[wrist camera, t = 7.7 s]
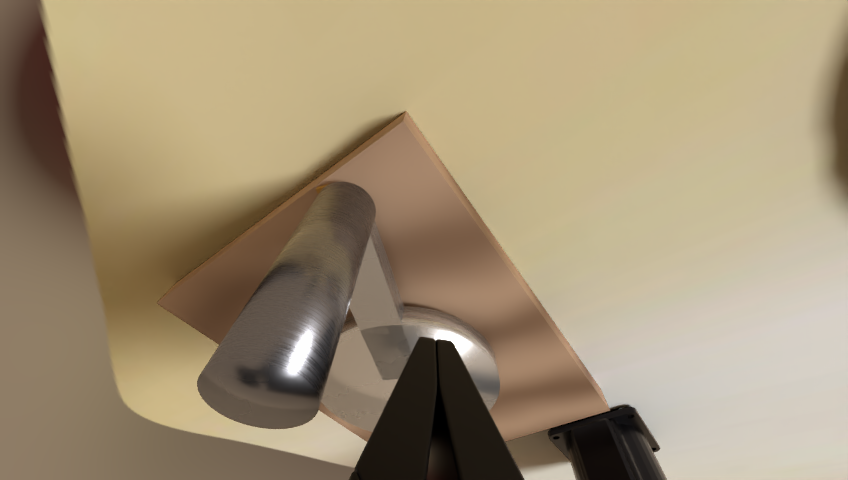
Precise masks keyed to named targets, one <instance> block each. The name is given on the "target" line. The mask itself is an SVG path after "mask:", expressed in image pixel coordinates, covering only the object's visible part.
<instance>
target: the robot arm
mask: <svg viewBox="0 0 848 480" xmlns="http://www.w3.org/2000/svg"><path fill="white" fill-rule="evenodd" d="M548 435H549V439H550V440H551V441H552V442H553V443H554V444H555V445H556V446H557V447H558V448H559V450H560V451H561V452H562V453H563V454H564V455H565V456H566V457H567V458H568V459H569V460H570V461H571V465H572V468H573V471H574V474H575V478H576V480H667V479H666V477H665V475H664V473H663V471H662V469H661V467H660V465H659V463H658V461H657V459H656V457H655V455H654V453H653V452H656V451H658V450H659V449H660V447H659V445H658V443H657V442H656V440H655V438H654V437H653V435H652V434H651V432H650V431H649V429H648V428H647V426H646V424H645V423H644V421H643V420H642V418H641V417H640V415H639V414H638V412H637V410H636V409H635V408H633V407H626V408H623V409H619V410H616V411H613V412H609V413H606V414H603V415H599V416H596V417H592V418H589V419H586V420H582V421H579V422H576V423H572V424H569V425H565V426H562V427H559V428H555V429H552V430H550V431H549V432H548ZM349 480H524V478H523V476H522V474H521V472H520V470H519V468H518V466H517V464H516V462H515V460H514V459H513V457H512V455H511V453H510V451H509V449H508V447H507V445H506V443H505V441H504V439H503V437H502V435H501V433H500V431H499V430H498V428H497V426H496V424H495V422H494V420H493V418H492V416H491V414H490V412H489V410H488V408H487V406H486V404H485V402H484V400H483V399H482V397H481V395H480V393H479V391H478V389H477V387H476V385H475V383H474V381H473V379H472V377H471V375H470V373H469V371H468V370H467V368H466V366H465V364H464V362H463V360H462V358H461V356H460V354H459V352H458V350H457V348H456V346H455V344H454V343H453V342H452V341H450V340H444V339H437V340H436V341H435V339H434V338H429V337H419V338H418V340H417V342H416V344H415V346H414V348H413V350H412V352H411V354H410V356H409V358H408V360H407V362H406V365H405V367H404V369H403V371H402V373H401V375H400V377H399V379H398V381H397V383H396V385H395V387H394V389H393V391H392V393H391V395H390V397H389V399H388V401H387V403H386V405H385V407H384V409H383V411H382V414H381V416H380V418H379V420H378V422H377V424H376V426H375V428H374V430H373V432H372V434H371V436H370V438H369V440H368V442H367V444H366V446H365V448H364V450H363V452H362V454H361V456H360V458H359V460H358V463H357V465H356V467H355V471H354V472H353V473H352V474H351V476H350V479H349Z"/></svg>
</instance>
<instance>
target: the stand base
mask: <svg viewBox="0 0 848 480" xmlns="http://www.w3.org/2000/svg"><path fill="white" fill-rule="evenodd" d="M334 182H349V183H353V184H356V185H358V186H360V187H361V188H363V189H364V190H365V191H366V192H367V193H368V194H369V195H370V196H371V197H372V199H373V201H374V204H375V207H376V217H375V222H376V225H377V228H378V231H379V234H380V237H381V240H382V243H383V246H384V249H385V252H386V255H387V258H388V260H389V263H390V266H391V269H392V272H393V275H394V278H395V281H396V284H397V287H398V290H399V293H400V296H401V299H402V302H403V305H404V306H411V307H421V308H427V309H432V310H437V311H440V312H443V313H446V314H449V315H452V316H454V317H456V318H459V319H461V320H462V321H464V322H466V323H468V324H469V325H471V326H472V327H474V328H475V329H476V330H478V331H479V332H480V333H481V334H482V335H483V336H484V337H485V338H486V340H487V341H488V342H489V344H490V345H491V347H492V349H493V351H494V354H495V358H496V362H497V367H498V373H499V379H500V391H499V395H498V398H497V400H496V402H495V404H494V405H493V407H492V408H491V409H490V410H489V412H490V414H491V416H492V418H493V420H494V422H495V424H496V426H497V428H498V430H499V431H500V433H501V435H502V437H503V439H504V441H505V442H506V441H509V440H512V439H516V438H519V437H523V436H526V435H529V434H533V433H536V432H539V431H543V430H546V429H549V428H553V427H556V426H560V425H563V424H566V423H570V422H573V421H576V420H580V419H583V418H586V417H590V416H593V415H596V414H600V413H603V412H607V411H610V409H609V407H608V404H607V402H606V400H605V398H604V395H603V393H602V391H601V389H600V387H599V386H598V384H597V383H596V382H595V380H594V379H593V377H592V376H591V374H590V373H589V372H588V370H587V369H586V367H585V366H584V364H583V363H582V362H581V360H580V359H579V357H578V356H577V354H576V353H575V352H574V350H573V349H572V347H571V346H570V344H569V343H568V342H567V340H566V339H565V337H564V336H563V334H562V333H561V332H560V330H559V329H558V327H557V326H556V324H555V323H554V322H553V320H552V319H551V317H550V316H549V314H548V313H547V312H546V310H545V309H544V307H543V306H542V304H541V303H540V302H539V300H538V299H537V297H536V296H535V294H534V293H533V292H532V290H531V289H530V287H529V286H528V284H527V283H526V282H525V280H524V279H523V277H522V276H521V274H520V273H519V272H518V270H517V269H516V267H515V266H514V264H513V263H512V262H511V260H510V259H509V257H508V256H507V254H506V253H505V252H504V250H503V249H502V247H501V246H500V244H499V243H498V242H497V240H496V239H495V237H494V236H493V234H492V233H491V232H490V230H489V229H488V227H487V226H486V224H485V223H484V222H483V220H482V219H481V217H480V216H479V214H478V213H477V212H476V210H475V209H474V207H473V206H472V204H471V203H470V202H469V200H468V199H467V197H466V196H465V194H464V193H463V192H462V190H461V189H460V187H459V186H458V184H457V183H456V182H455V180H454V179H453V177H452V176H451V174H450V173H449V172H448V170H447V169H446V167H445V166H444V164H443V163H442V162H441V160H440V159H439V157H438V156H437V154H436V153H435V152H434V150H433V149H432V147H431V146H430V144H429V143H428V142H427V140H426V139H425V137H424V136H423V134H422V133H421V132H420V130H419V129H418V127H417V126H416V124H415V123H414V121H413V120H412V119H411V117H410V116H409V114H408V113H407V111H406V112H405V113H403V114H402V115H401V116H399V117H398V118H397V119H395V120H394V121H393V122H391V123H390V124H389V125H387V126H386V127H384V128H383V129H382V130H380V131H379V132H378V133H376V134H375V135H374V136H372V137H371V138H370V139H368V140H367V141H366V142H364V143H363V144H362V145H360V146H359V147H358V148H356V149H355V150H354V151H352V152H351V153H350V154H348V155H347V156H346V157H344V158H343V159H342V160H340V161H339V162H338V163H336V164H335V165H334V166H332V167H331V168H330V169H328V170H327V171H326V172H324V173H323V174H322V175H320V176H319V177H318V178H316V179H315V180H314V181H312V182H311V183H310V184H308V185H307V186H306V187H304V188H303V189H301V190H300V191H299V192H297V193H296V194H295V195H293V196H292V197H291V198H289V199H288V200H287V201H285V202H284V203H283V204H281V205H280V206H279V207H277V208H276V209H275V210H273V211H272V212H271V213H269V214H268V215H267V216H265V217H264V218H263V219H261V220H260V221H259V222H257V223H256V224H255V225H253V226H252V227H251V228H249V229H248V230H247V231H245V232H244V233H243V234H241V235H240V236H239V237H237V238H236V239H235V240H233V241H232V242H231V243H229V244H228V245H227V246H225V247H224V248H223V249H221V250H220V251H218V252H217V253H216V254H214V255H213V256H212V257H210V258H209V259H208V260H206V261H205V262H204V263H202V264H201V265H200V266H198V267H197V268H196V269H194V270H193V271H192V272H190V273H189V274H188V275H186V276H185V277H184V278H182V279H181V280H180V281H178V282H177V283H176V284H174V286H173V287H172V288H171V289H170V290H169V291H168V292H167V293H166V294H165V295H164V296H163V297H162V298H161V299H160V300H159V301H158V302H157V304H158V305H160V306H161V307H163V308H164V309H166V310H167V311H169V312H171V313H172V314H174V315H175V316H177V317H178V318H180V319H181V320H183V321H184V322H186V323H187V324H189V325H190V326H192V327H193V328H195V329H196V330H198V331H199V332H201V333H202V334H204V335H205V336H207V337H209V338H210V339H212V340H213V341H215V342H216V343H218V344H219V345H220V344H221V342H222V340H223V339H224V337H225V336H226V334H227V333H228V331H229V330H230V328H231V327H232V325H233V324H234V322H235V321H236V319H237V318H238V316H239V315H240V313H241V311H242V310H243V308H244V307H245V305H246V304H247V302H248V301H249V299H250V298H251V296H252V295H253V293H254V292H255V290H256V289H257V287H258V285H259V284H260V282H261V281H262V279H263V278H264V276H265V275H266V273H267V272H268V270H269V269H270V267H271V266H272V264H273V263H274V261H275V260H276V258H277V256H278V255H279V253H280V252H281V250H282V249H283V247H284V246H285V244H286V243H287V241H288V240H289V238H290V237H291V235H292V234H293V232H294V231H295V229H296V227H297V226H298V224H299V223H300V221H301V220H302V218H303V217H304V215H305V214H306V212H307V211H308V209H309V208H310V206H311V205H312V203H313V201H314V200H315V198H316V197H317V195H318V194H319V192H320V191H321V190H322V189H323V188H324V187H325V186H327V185H329V184H331V183H334ZM352 316H353V314H352V312H351V310H350V308H348V312H347V315H346V318H345V320H346V319H347V318H349V317H352ZM319 410H320V411H321V412H323V413H324V414H326V415H327V416H329V417H330V418H332V419H333V420H335V421H336V422H338V423H339V424H341V425H342V426H344V427H345V428H347V429H348V430H350V431H351V432H353V433H354V434H356V435H358V436H359V437H361V438H362V439H364V440H365V441H367V442H368V440H369V438H370V436H371V434H372V432H370V431H367V430H364V429H361V428H359V427H356V426H354V425H352V424H350V423H347V422H345V421H344V420H342V419H340V418H339V417H337V416H336V415H335V414H333V413H332V412H331V411H329V410H328V409H327V408H326V407H325V406H324V405H323V403H322V402H321V403H320V406H319Z"/></svg>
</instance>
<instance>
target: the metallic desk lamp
mask: <svg viewBox="0 0 848 480" xmlns="http://www.w3.org/2000/svg"><path fill="white" fill-rule="evenodd" d="M375 217H376V207H375V204H374V201H373V199H372V197H371V196H370V195H369V194H368V193H367V192H366V191H365V190H364V189H363V188H361V187H360V186H358V185H356V184H353V183H349V182H334V183H331V184H329V185H327V186H325V187H324V188H323V189H322V190H321V191H320V192H319V194H318V195H317V197H316V198H315V200H314V201H313V203H312V205H311V206H310V208H309V209H308V211H307V212H306V214H305V215H304V217H303V218H302V220H301V221H300V223H299V224H298V226H297V227H296V229H295V231H294V232H293V234H292V235H291V237H290V238H289V240H288V241H287V243H286V244H285V246H284V247H283V249H282V250H281V252H280V253H279V255H278V256H277V258H276V260H275V261H274V263H273V264H272V266H271V267H270V269H269V270H268V272H267V273H266V275H265V276H264V278H263V279H262V281H261V282H260V284H259V285H258V287H257V289H256V290H255V292H254V293H253V295H252V296H251V298H250V299H249V301H248V302H247V304H246V305H245V307H244V308H243V310H242V311H241V313H240V315H239V316H238V318H237V319H236V321H235V322H234V324H233V325H232V327H231V328H230V330H229V331H228V333H227V334H226V336H225V337H224V339H223V340H222V342H221V344H220V345H219V347H218V348H217V350H216V351H215V353H214V354H213V356H212V357H211V359H210V360H209V362H208V363H207V365H206V366H205V368H204V370H203V371H202V373H201V374H200V376H199V378H198V381H197V387H198V391H199V393H200V395H201V397H202V398H203V400H204V401H205V402H206V403H207V404H208V405H209V406H210V407H211V408H213V409H214V410H215V411H217V412H218V413H220V414H222V415H224V416H225V417H227V418H229V419H232V420H234V421H237V422H240V423H242V424H246V425H250V426H254V427H260V428H268V429H286V428H293V427H297V426H300V425H303V424H305V423H307V422H309V421H310V420H312V419H313V418H314V417H315V415H316V414H317V412H318V410H319V406H320V403H321V402H322V403H323V405H324V406H325V407H326V408H327V409H328V410H329V411H331V412H332V413H333V414H335V415H336V416H337V417H339V418H340V419H342V420H344V421H345V422H347V423H350V424H352V425H354V426H356V427H359V428H361V429H364V430H367V431H370V432H373V430H374V428H375V426H376V424H377V422H378V420H379V418H380V416H381V414H382V411H383V409H384V407H385V405H386V403H387V401H388V399H389V397H390V395H391V393H392V391H393V389H394V387H395V385H396V383H397V381H398V379H399V377H400V375H401V373H402V371H403V369H404V367H405V365H406V362H407V360H408V358H409V356H410V354H411V352H412V350H413V348H414V346H415V344H416V342H417V340H418V338H419V337H429V338H434V339H435V341H436V340H437V339H444V340H450V341H452V342H453V343H454V344H455V346H456V348H457V350H458V352H459V354H460V356H461V358H462V360H463V362H464V364H465V366H466V368H467V370H468V371H469V373H470V375H471V377H472V379H473V381H474V383H475V385H476V387H477V389H478V391H479V393H480V395H481V397H482V399H483V400H484V402H485V404H486V406H487V408H488V410H490V409H491V408H492V407H493V405H494V404H495V402H496V400H497V398H498V395H499V391H500V379H499V373H498V367H497V362H496V358H495V354H494V351H493V349H492V347H491V345H490V344H489V342H488V341H487V340H486V338H485V337H484V336H483V335H482V334H481V333H480V332H479V331H478V330H476V329H475V328H474V327H472V326H471V325H469V324H468V323H466V322H464V321H462V320H461V319H459V318H456V317H454V316H452V315H449V314H446V313H443V312H440V311H437V310H432V309H427V308H421V307H411V306H404V305H403V302H402V299H401V296H400V293H399V290H398V287H397V284H396V281H395V278H394V275H393V272H392V269H391V266H390V263H389V260H388V258H387V255H386V252H385V249H384V246H383V243H382V240H381V237H380V234H379V231H378V228H377V225H376V222H375ZM348 308H350V310H351V312H352V314H353V316H352V317H349V318H347V319H346V320H345V318H346V315H347V312H348Z"/></svg>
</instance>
